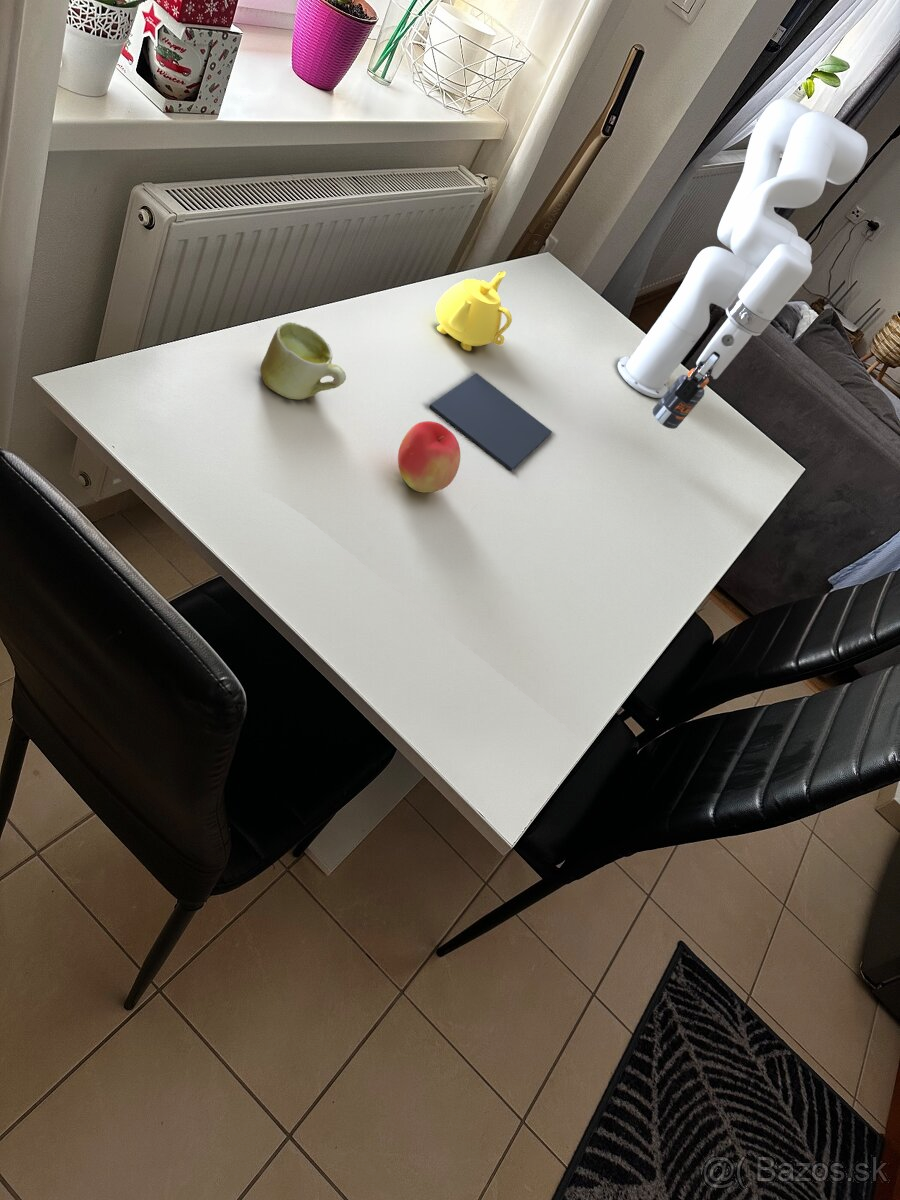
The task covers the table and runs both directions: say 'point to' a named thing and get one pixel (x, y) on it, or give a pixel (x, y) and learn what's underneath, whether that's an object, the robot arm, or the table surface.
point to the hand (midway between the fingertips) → (686, 391)
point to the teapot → (473, 312)
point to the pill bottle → (676, 404)
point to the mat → (491, 420)
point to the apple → (428, 457)
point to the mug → (299, 363)
